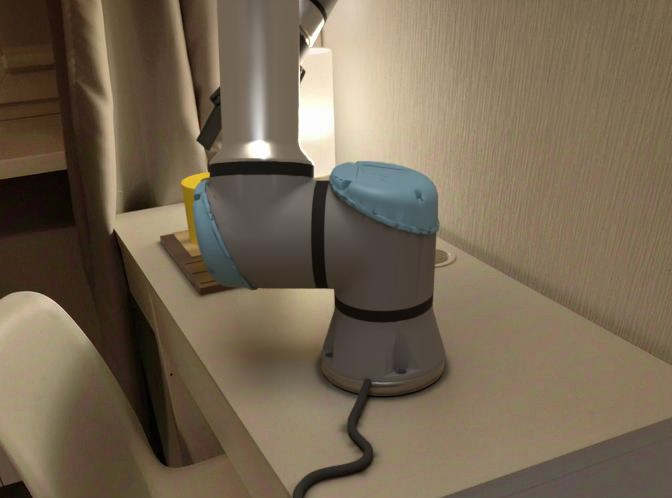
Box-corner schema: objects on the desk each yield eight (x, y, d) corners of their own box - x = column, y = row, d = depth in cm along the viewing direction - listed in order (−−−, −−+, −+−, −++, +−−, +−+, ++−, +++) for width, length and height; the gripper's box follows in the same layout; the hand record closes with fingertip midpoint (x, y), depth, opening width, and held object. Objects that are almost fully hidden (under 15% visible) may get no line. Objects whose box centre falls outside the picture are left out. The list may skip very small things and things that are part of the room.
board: (303, 273, 115) (303, 265, 114) (200, 295, 110) (199, 286, 110) (250, 225, 134) (249, 218, 134) (160, 242, 130) (159, 234, 129)
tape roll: (219, 222, 132) (212, 168, 126) (258, 233, 127) (253, 177, 121) (177, 239, 126) (168, 183, 121) (217, 250, 121) (209, 192, 115)
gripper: (355, 57, 112) (285, 180, 114) (260, 45, 127) (200, 153, 129) (328, 20, 106) (254, 150, 108) (231, 12, 121) (169, 126, 123)
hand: (224, 152), depth 119 cm, fingers open, 13 cm apart
